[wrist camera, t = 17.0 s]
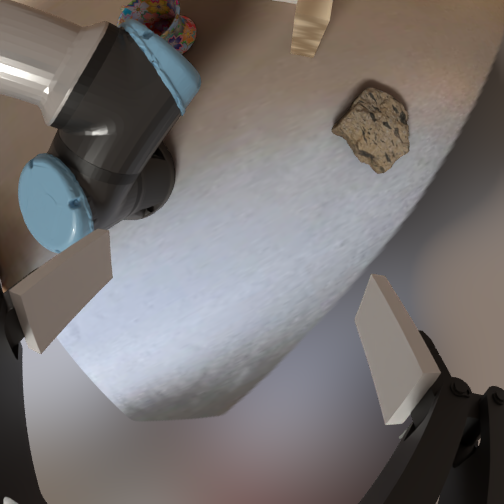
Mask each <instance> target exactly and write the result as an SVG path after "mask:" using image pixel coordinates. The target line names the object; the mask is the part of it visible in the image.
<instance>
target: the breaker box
mask: <svg viewBox="0 0 504 504" xmlns="http://www.w3.org/2000/svg"><path fill="white" fill-rule="evenodd" d="M274 1H281V2H288V3H294V4H297V1H298V0H274Z"/></svg>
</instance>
